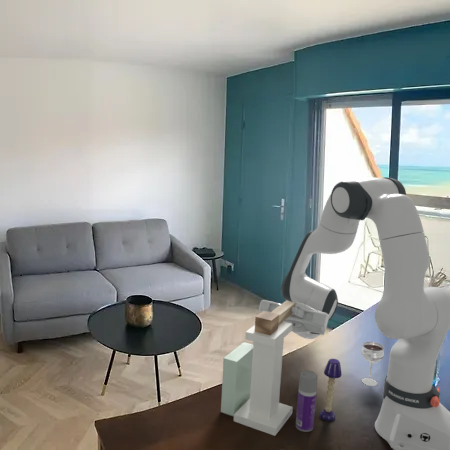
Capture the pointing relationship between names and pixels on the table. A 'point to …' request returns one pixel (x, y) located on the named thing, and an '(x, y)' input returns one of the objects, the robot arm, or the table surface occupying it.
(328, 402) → the toy lamp
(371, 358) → the wineglass
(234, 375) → the pale green rectangular block
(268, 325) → the tan long block
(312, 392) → the container
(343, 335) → the table surface
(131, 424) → the table surface
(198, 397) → the table surface
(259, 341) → the white i-beam pillar
